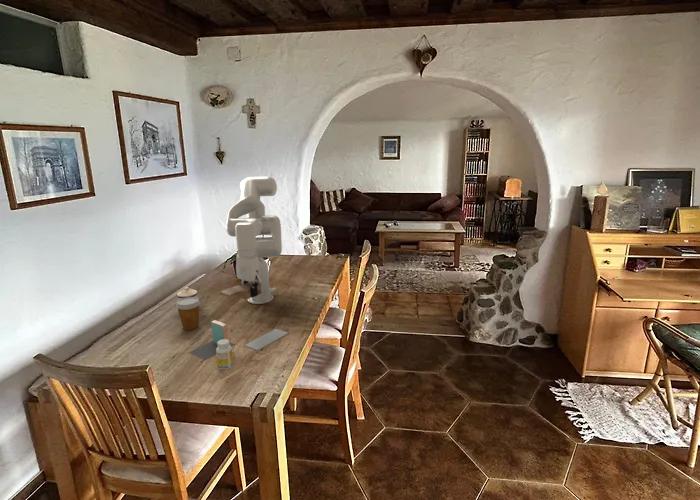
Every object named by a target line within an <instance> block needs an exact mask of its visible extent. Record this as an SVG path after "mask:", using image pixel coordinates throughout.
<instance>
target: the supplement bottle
mask: <svg viewBox="0 0 700 500" xmlns="http://www.w3.org/2000/svg"><path fill="white" fill-rule="evenodd" d="M229 342H230V340H229V339H228V340H227V339H222V340H219V341H218V342H217V346H218V347H217V348H216V355H215V356H216V364H217V368H218V369H219V370H228V369H230V368H232V367H233V366H234V358H233V346H232V347H231V346H230V345H229V344H230V343H229Z"/></svg>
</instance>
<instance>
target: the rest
mask: <svg viewBox="0 0 700 500" xmlns="http://www.w3.org/2000/svg"><path fill="white" fill-rule="evenodd" d="M288 335H289V332H286V331H284V330H281V329H279V328H275V329H272V330H271V331H268V332H267V333H265V334H263V335H261V336H259V337H257V338H255V339H253V340H252V341H251V340H250V341H249V342H248V343H245V344H244V346H245V347H247V348H250V349H252V350H254V351H259V350H261V349H263V348H265V347H266V346H268V345H270V344H272V343H274V342H276V341H277V340H280V339H281V338H283V337H284V336H288Z"/></svg>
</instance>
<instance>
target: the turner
mask: <svg viewBox="0 0 700 500" xmlns="http://www.w3.org/2000/svg"><path fill="white" fill-rule="evenodd" d="M254 283H255V282H253V284H254ZM250 288H251V283H250V282H248V283H246V284H243V285H242V284H241V285H239V284H237V285H234V286H232V287H229V288H225V289H223V290H219V295H221V296H225V297H228V298H232V297H234V296H237V295H239V298H240V299H244V300H247V299H249V298H251V290H250ZM257 289H258V295H259V294H261V283H260V284H259V285H258V287H257Z"/></svg>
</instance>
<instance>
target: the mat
mask: <svg viewBox="0 0 700 500" xmlns="http://www.w3.org/2000/svg"><path fill="white" fill-rule="evenodd" d="M229 343H230V344H229V345H230V346H231V347H232V348H233V347H234V346H236V344H235V343H233V342H231V341H229ZM217 347H218V346H217V344H215V343H213V340H211V341H210V342H207V343H205V344H203V345H200V346H198V347H197V348H194V349H193V350H190V351H189V352H188V354H191V355H193V356H195V357H197V358H199V359H202V360H203V361H207V360H208V359H210V358H212V357H214V356H216V348H217Z"/></svg>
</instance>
